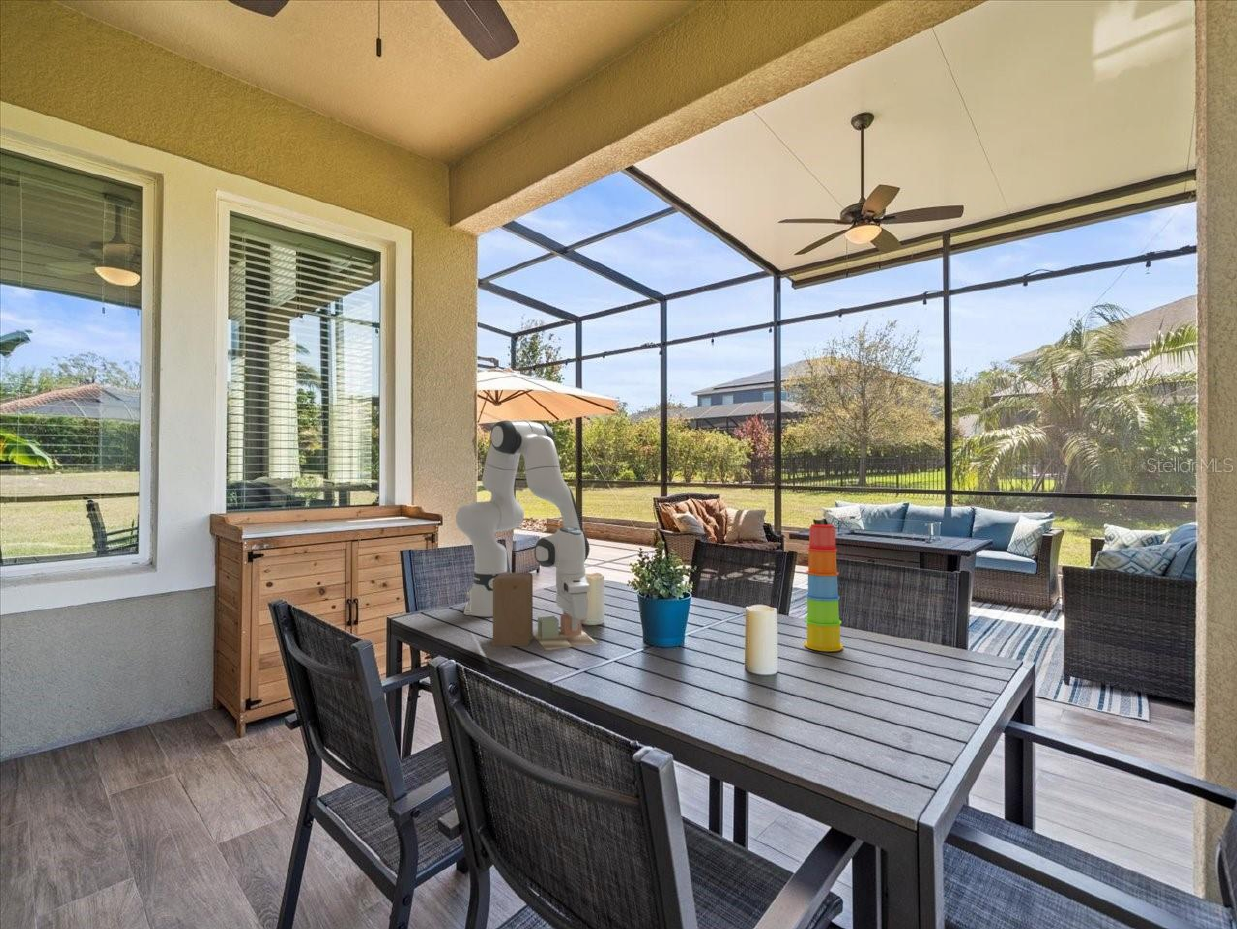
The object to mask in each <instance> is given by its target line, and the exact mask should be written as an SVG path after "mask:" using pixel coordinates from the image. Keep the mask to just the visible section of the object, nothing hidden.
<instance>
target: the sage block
mask: <svg viewBox="0 0 1237 929" xmlns="http://www.w3.org/2000/svg"><path fill="white" fill-rule="evenodd" d="M559 621H560V619H558V618H557V617H556V616H555V615H549V616H539V617H537V633H538V635H539V636H540V637H541V638H542V639H545V638H553V637H559V630H560V629H559V627H560V622H559Z"/></svg>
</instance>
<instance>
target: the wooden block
mask: <svg viewBox="0 0 1237 929" xmlns="http://www.w3.org/2000/svg"><path fill="white" fill-rule="evenodd" d="M533 582H534V581H533V574H532V573H531V572H508V573H500V574H499V575H498V576H497V577H495V578H494V580H493V616H492V646H495V647H527V646H529V644H530V643H531V641H532V638H533V637H534V636H533V632H534V630H533V629H534V628H533V627H534V626H533V625H534V624H533V622H534V621H533V620H534V619H533V618H534V616H533V614H534V613H533V608H534V606H533V605H534V604H533V602H534V601H533V599H534V598H533V597H534V596H533V593H534V591H533V590H534V589H533V585H534V584H533Z"/></svg>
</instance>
